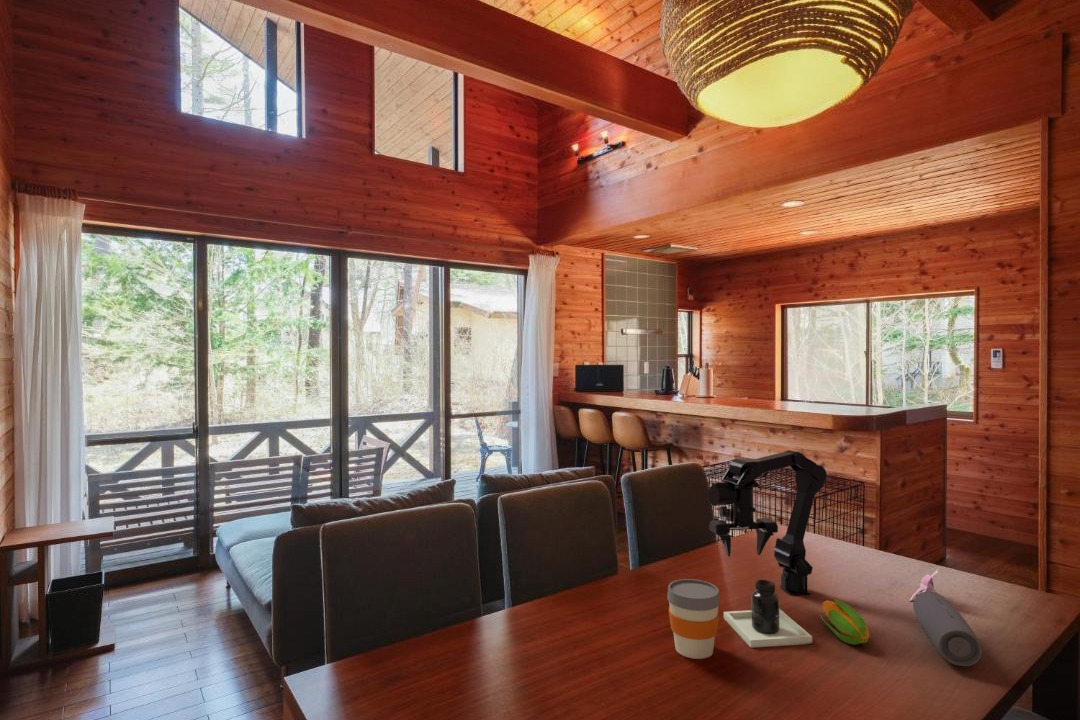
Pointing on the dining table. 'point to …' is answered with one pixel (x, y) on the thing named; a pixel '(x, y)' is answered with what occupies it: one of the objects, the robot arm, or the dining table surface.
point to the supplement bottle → (765, 607)
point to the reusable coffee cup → (693, 616)
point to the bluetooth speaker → (947, 629)
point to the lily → (926, 584)
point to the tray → (785, 636)
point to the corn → (846, 622)
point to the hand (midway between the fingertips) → (743, 555)
